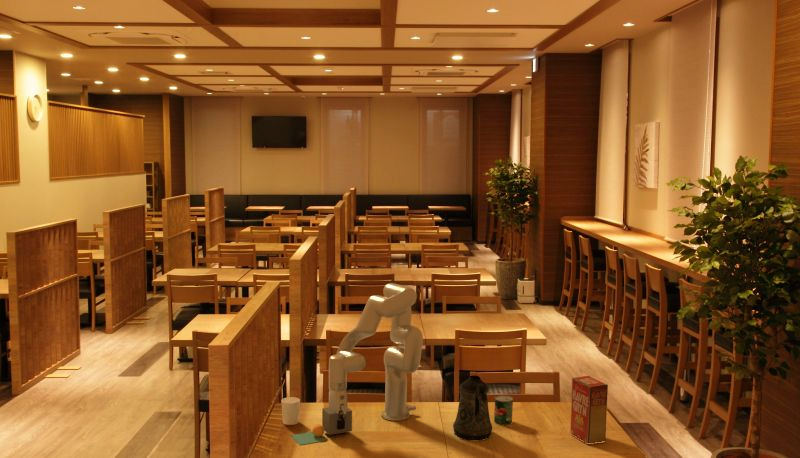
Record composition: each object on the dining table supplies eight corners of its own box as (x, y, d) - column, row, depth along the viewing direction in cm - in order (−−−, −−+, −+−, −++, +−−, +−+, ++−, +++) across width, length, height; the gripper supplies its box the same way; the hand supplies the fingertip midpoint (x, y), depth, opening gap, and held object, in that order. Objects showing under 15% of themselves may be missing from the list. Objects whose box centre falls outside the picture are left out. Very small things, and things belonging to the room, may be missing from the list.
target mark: (315, 431, 332) (315, 431, 332) (325, 440, 322) (325, 440, 322) (290, 435, 327) (290, 435, 327) (299, 445, 317) (299, 444, 317)
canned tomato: (491, 423, 345) (492, 399, 343) (496, 418, 352) (497, 394, 350) (509, 426, 342) (510, 402, 340) (514, 420, 349) (514, 396, 348)
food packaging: (568, 434, 334) (571, 377, 331) (586, 431, 338) (589, 374, 335) (587, 445, 322) (590, 386, 319) (606, 442, 326) (609, 384, 323)
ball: (317, 420, 328) (308, 429, 327) (321, 424, 324) (312, 433, 322) (324, 428, 330) (315, 436, 329) (328, 432, 325) (319, 441, 324)
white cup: (296, 426, 337) (296, 404, 336) (278, 424, 339) (278, 402, 337) (302, 420, 345) (302, 397, 344) (285, 418, 346) (285, 396, 345)
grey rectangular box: (344, 424, 336) (344, 404, 335) (351, 431, 329) (352, 410, 328) (322, 428, 331) (322, 408, 330) (329, 434, 324) (329, 414, 323)
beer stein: (470, 423, 345) (472, 368, 342) (505, 436, 331) (507, 378, 328) (444, 433, 333) (446, 375, 330) (480, 446, 319) (482, 387, 316)
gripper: (354, 389, 322) (353, 431, 324) (337, 377, 337) (337, 417, 339) (337, 392, 318) (336, 434, 320) (321, 379, 334) (320, 419, 336)
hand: (337, 425), depth 330 cm, fingers closed on grey rectangular box, 7 cm apart
